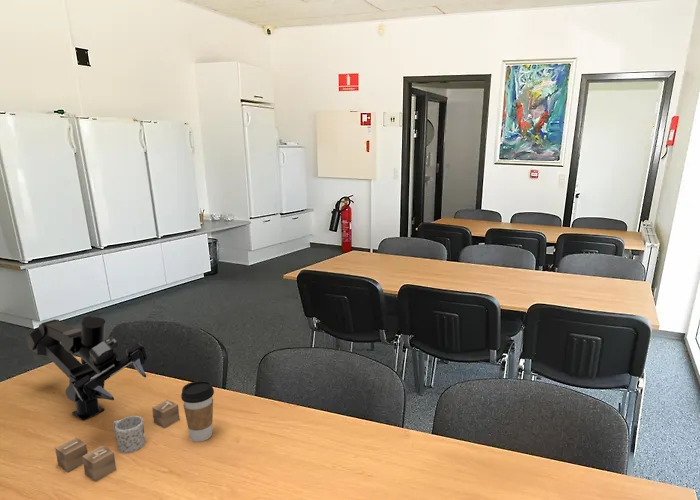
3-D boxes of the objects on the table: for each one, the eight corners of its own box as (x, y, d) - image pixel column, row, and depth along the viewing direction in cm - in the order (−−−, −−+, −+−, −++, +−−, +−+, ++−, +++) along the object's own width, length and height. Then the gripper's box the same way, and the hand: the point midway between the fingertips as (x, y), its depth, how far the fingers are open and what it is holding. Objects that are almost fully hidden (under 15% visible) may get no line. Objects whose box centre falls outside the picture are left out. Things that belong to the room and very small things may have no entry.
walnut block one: (58, 465, 112) (55, 447, 111) (78, 454, 116) (76, 436, 115) (68, 473, 110) (65, 454, 108) (88, 461, 114) (86, 443, 113)
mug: (150, 441, 121) (148, 419, 120) (128, 456, 115) (125, 433, 114) (126, 431, 126) (124, 410, 124) (104, 444, 120) (101, 422, 119)
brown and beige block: (153, 423, 130) (152, 406, 129) (169, 414, 134) (167, 399, 133) (164, 428, 127) (162, 412, 126) (179, 419, 131) (178, 403, 130)
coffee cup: (207, 446, 119) (203, 395, 116) (178, 442, 121) (173, 392, 118) (222, 428, 127) (218, 379, 124) (195, 424, 129) (191, 376, 126)
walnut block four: (85, 474, 109) (82, 455, 108) (105, 462, 113) (102, 444, 112) (95, 482, 106) (93, 463, 105) (116, 469, 111) (113, 451, 109)
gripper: (53, 359, 114) (85, 391, 107) (121, 318, 126) (154, 345, 119) (67, 386, 121) (98, 418, 113) (131, 345, 133) (163, 372, 126)
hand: (129, 387), depth 118 cm, fingers open, 9 cm apart
